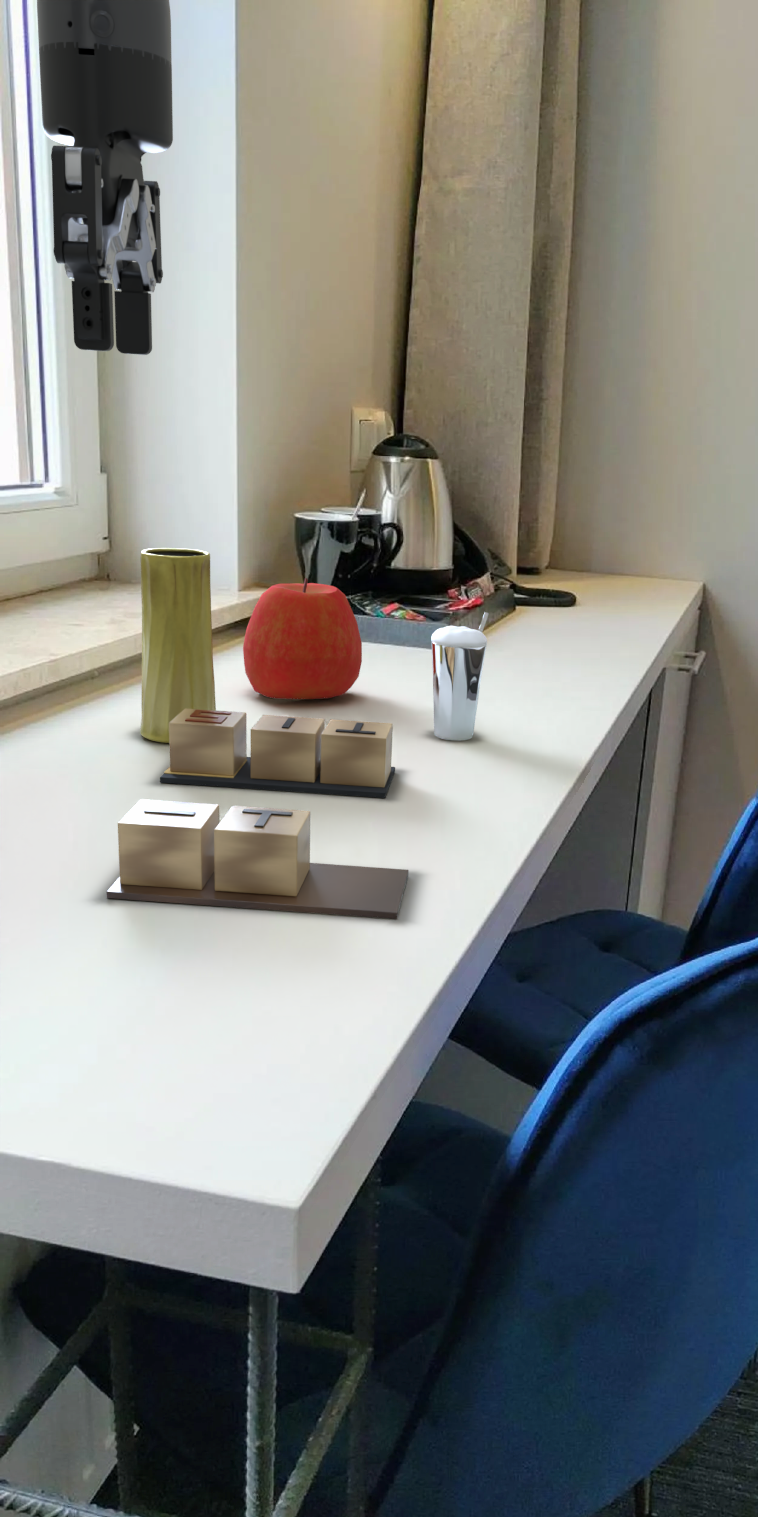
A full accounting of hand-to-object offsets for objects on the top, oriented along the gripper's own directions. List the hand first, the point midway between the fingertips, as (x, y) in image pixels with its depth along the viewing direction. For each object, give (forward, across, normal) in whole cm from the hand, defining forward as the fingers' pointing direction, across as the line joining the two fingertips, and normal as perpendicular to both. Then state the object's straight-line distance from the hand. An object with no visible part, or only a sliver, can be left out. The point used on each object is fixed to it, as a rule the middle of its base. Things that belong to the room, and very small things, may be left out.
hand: (115, 352), depth 83 cm
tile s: (+28, -4, +5) cm, 28 cm away
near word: (+28, +18, +13) cm, 36 cm away
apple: (+28, -31, +7) cm, 43 cm away
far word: (+28, -4, +10) cm, 30 cm away
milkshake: (+28, -20, +22) cm, 41 cm away
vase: (+28, -14, 0) cm, 31 cm away
